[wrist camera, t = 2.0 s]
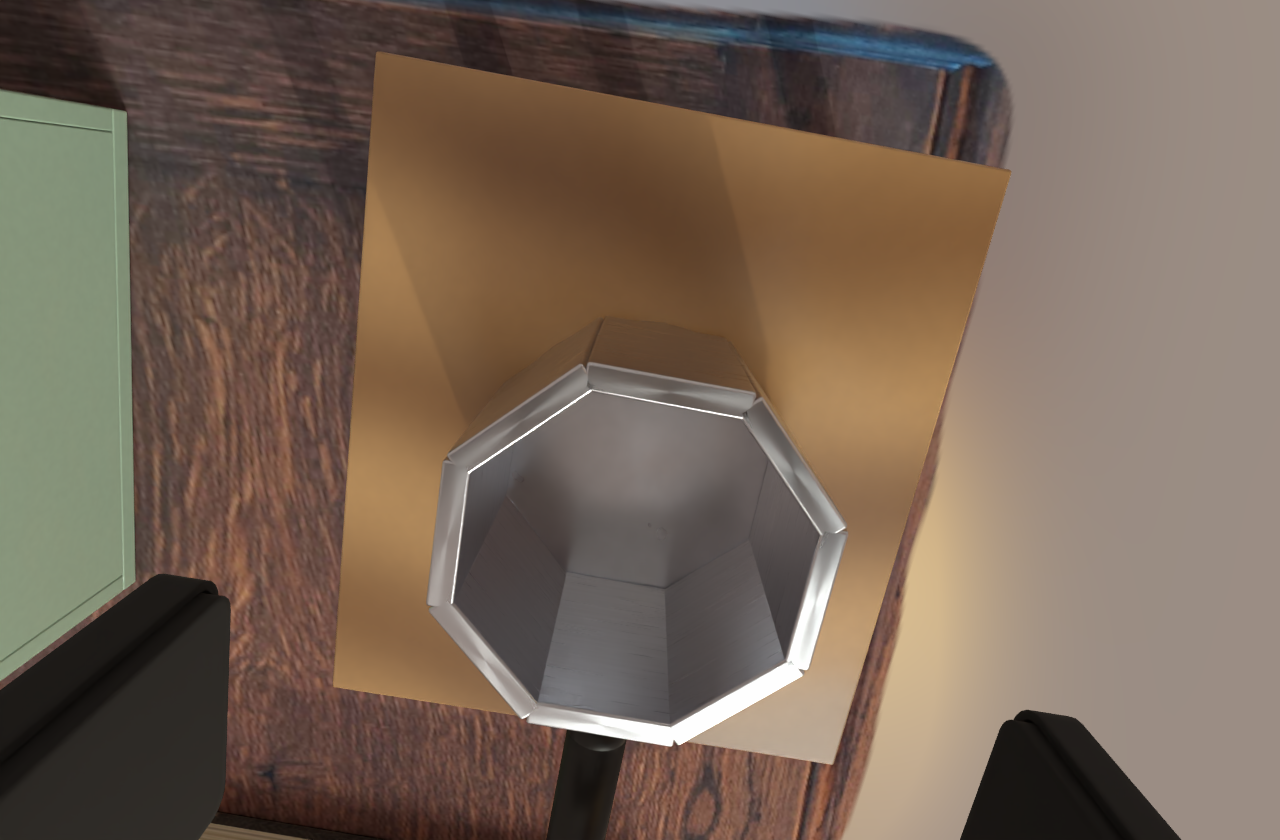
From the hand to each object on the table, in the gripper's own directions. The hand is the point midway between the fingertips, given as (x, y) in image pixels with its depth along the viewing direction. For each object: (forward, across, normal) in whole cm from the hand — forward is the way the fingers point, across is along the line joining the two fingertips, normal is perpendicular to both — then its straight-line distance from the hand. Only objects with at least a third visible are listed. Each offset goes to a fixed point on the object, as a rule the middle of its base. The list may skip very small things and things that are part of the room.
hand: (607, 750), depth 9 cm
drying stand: (+22, 0, -1) cm, 22 cm away
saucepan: (+10, 0, +4) cm, 11 cm away
